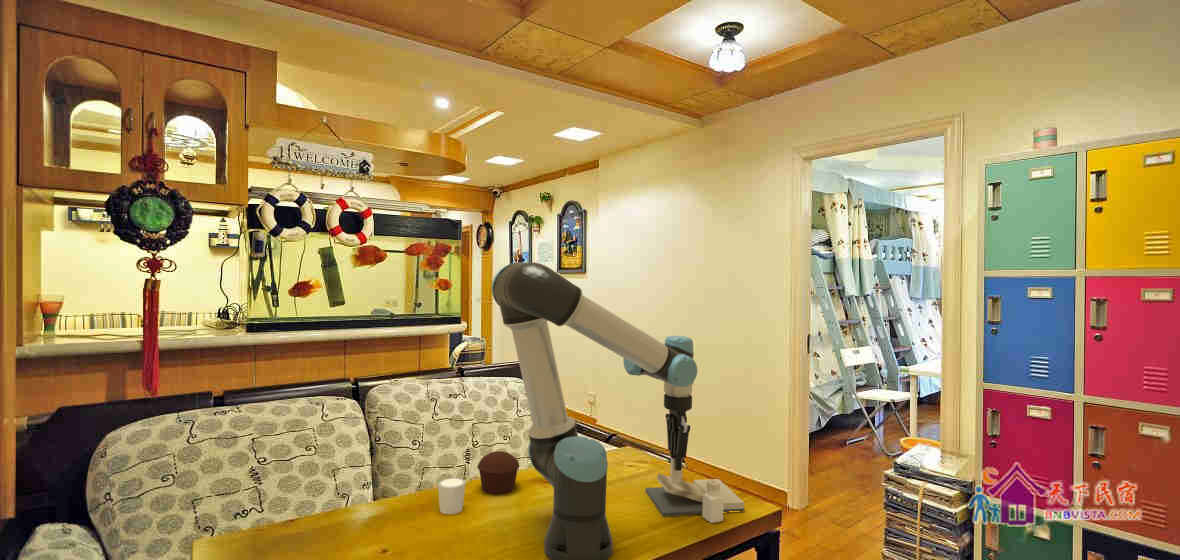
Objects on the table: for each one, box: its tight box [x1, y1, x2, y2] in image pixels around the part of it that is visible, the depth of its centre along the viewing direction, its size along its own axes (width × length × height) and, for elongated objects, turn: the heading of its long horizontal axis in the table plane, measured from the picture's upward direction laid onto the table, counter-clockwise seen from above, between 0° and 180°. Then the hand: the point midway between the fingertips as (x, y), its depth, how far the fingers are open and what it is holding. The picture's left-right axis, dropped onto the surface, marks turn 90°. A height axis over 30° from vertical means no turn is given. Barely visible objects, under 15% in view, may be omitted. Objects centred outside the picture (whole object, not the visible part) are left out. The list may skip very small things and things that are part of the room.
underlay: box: [644, 478, 745, 518], centre depth 147 cm, size 22×16×3 cm
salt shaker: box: [702, 480, 724, 524], centre depth 136 cm, size 4×4×10 cm
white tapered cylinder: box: [437, 477, 466, 515], centre depth 138 cm, size 7×7×7 cm
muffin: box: [477, 451, 520, 496], centre depth 152 cm, size 12×11×10 cm
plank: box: [656, 473, 704, 502], centre depth 146 cm, size 12×9×2 cm
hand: (676, 480), depth 146 cm, fingers closed
